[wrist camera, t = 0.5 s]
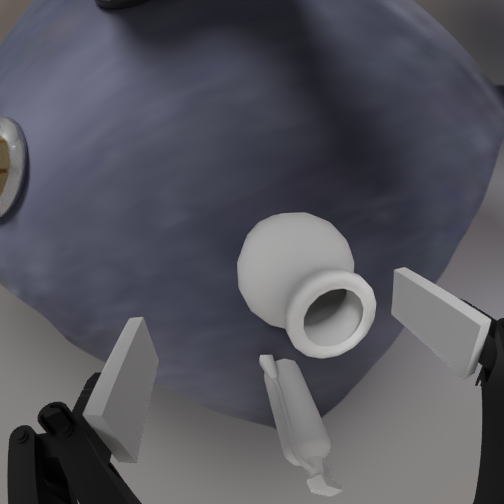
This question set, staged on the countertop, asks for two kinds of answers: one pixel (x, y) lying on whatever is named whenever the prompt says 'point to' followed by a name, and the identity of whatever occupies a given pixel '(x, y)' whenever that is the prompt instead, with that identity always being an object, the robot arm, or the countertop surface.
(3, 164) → the gold crown ring
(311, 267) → the vase
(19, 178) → the flange
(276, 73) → the countertop surface
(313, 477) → the fire extinguisher
